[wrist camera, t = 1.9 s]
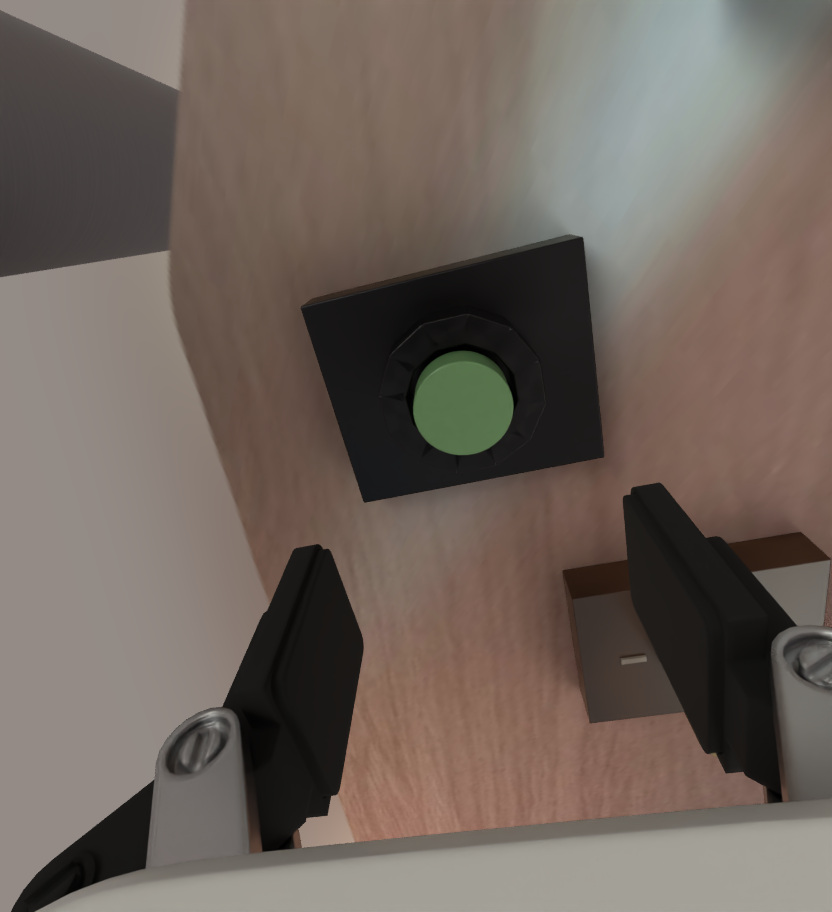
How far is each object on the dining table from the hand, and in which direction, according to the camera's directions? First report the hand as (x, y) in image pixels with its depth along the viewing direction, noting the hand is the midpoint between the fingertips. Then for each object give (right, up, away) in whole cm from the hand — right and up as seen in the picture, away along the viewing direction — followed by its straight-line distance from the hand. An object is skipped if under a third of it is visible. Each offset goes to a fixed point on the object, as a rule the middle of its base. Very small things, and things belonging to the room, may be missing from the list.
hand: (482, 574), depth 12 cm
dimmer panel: (+15, -7, +20) cm, 26 cm away
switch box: (+1, +7, +14) cm, 16 cm away
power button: (0, +5, +11) cm, 12 cm away
